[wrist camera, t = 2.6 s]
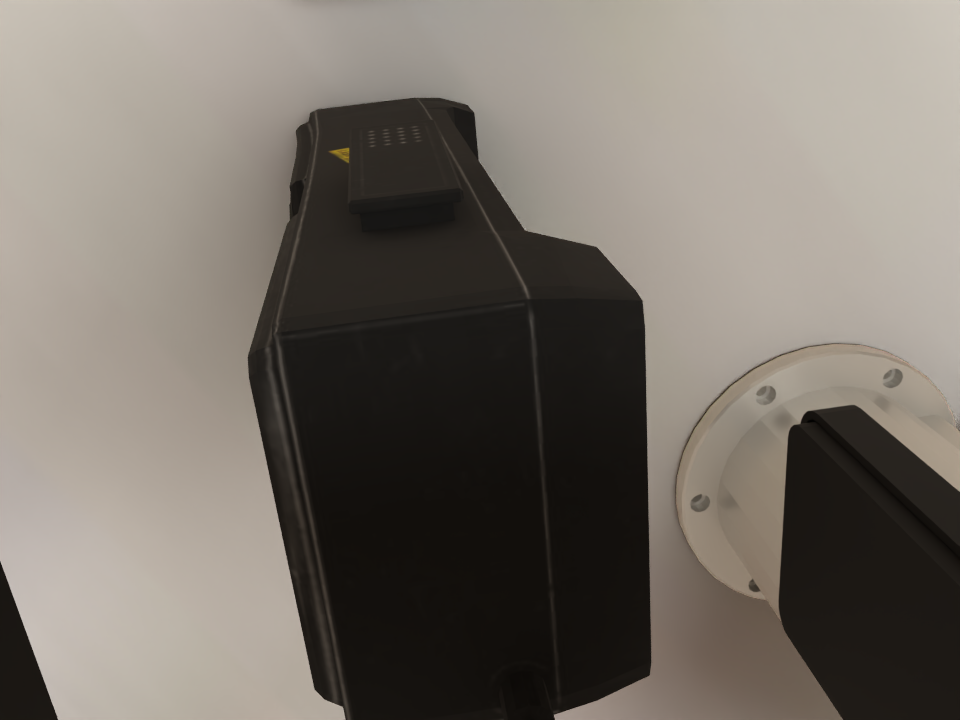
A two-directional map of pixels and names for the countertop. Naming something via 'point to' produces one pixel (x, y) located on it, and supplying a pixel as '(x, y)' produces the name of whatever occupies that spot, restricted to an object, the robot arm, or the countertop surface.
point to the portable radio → (450, 432)
